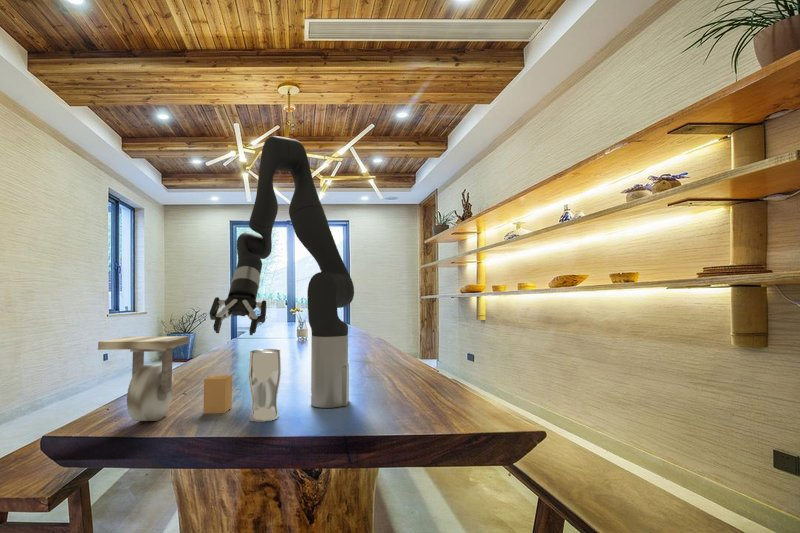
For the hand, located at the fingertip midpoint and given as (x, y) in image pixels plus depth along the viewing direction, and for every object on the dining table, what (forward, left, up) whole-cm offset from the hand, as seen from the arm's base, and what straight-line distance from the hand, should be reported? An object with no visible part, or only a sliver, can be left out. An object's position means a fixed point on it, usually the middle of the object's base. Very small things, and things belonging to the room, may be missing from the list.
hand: (234, 332), depth 115 cm
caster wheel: (+12, +16, -18) cm, 27 cm away
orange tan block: (0, +9, -18) cm, 20 cm away
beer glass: (-13, +16, -18) cm, 27 cm away
